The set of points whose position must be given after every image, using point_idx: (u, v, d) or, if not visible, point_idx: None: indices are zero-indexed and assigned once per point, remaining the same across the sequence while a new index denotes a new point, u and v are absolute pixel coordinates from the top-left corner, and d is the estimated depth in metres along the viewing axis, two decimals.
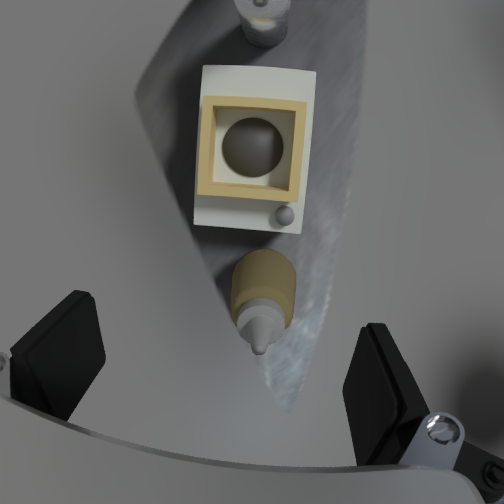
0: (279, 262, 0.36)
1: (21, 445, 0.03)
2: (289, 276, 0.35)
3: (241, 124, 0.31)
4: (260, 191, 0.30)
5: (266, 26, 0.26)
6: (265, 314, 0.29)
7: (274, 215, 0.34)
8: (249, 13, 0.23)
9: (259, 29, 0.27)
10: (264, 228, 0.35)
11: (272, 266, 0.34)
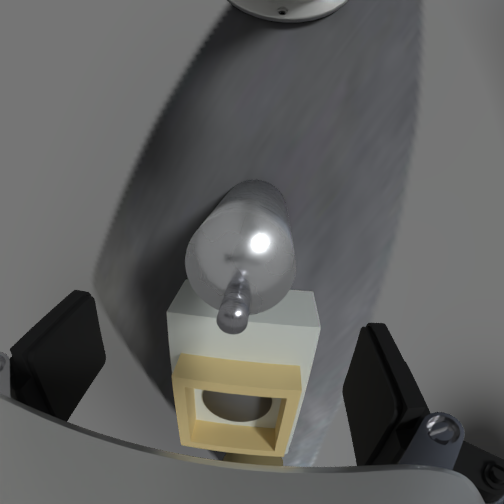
0: None
1: (21, 445, 0.03)
2: None
3: None
4: (245, 450, 0.25)
5: None
6: None
7: None
8: None
9: None
10: None
11: None
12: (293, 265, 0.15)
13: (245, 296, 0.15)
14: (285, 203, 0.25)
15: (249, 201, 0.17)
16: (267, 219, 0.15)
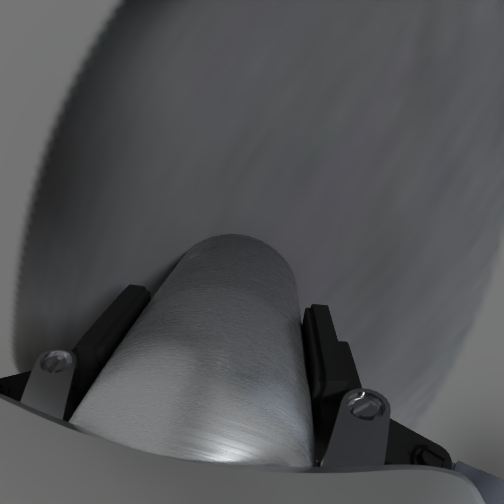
0: None
1: (21, 445, 0.03)
2: None
3: None
4: None
5: None
6: None
7: None
8: None
9: None
10: None
11: None
12: None
13: None
14: (295, 288, 0.12)
15: (175, 416, 0.04)
16: None
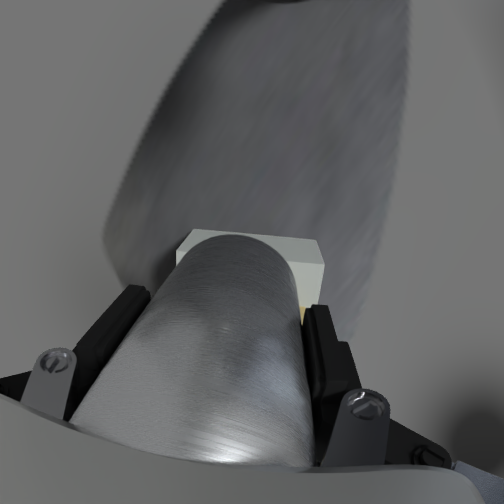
0: None
1: (21, 445, 0.03)
2: None
3: None
4: None
5: None
6: None
7: None
8: None
9: None
10: None
11: None
12: None
13: None
14: (295, 288, 0.12)
15: (175, 416, 0.04)
16: None
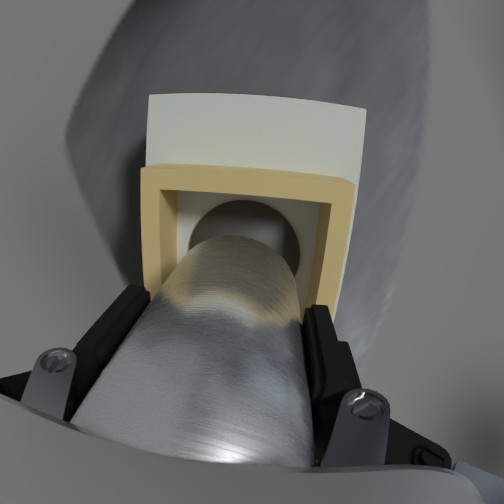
0: None
1: (21, 445, 0.03)
2: None
3: (222, 212, 0.17)
4: None
5: None
6: None
7: None
8: None
9: None
10: None
11: None
12: None
13: None
14: (295, 290, 0.12)
15: (174, 420, 0.04)
16: None
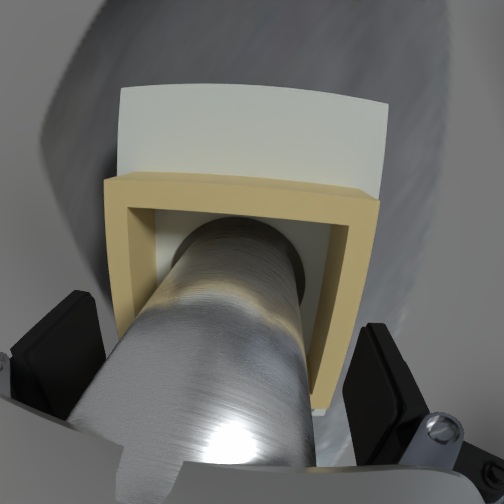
0: None
1: (21, 445, 0.03)
2: None
3: None
4: None
5: None
6: None
7: None
8: None
9: None
10: None
11: None
12: None
13: None
14: (293, 276, 0.13)
15: (188, 369, 0.05)
16: None
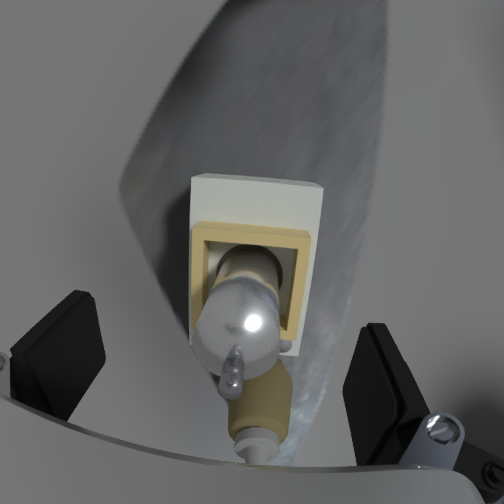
0: (275, 379, 0.34)
1: (21, 445, 0.03)
2: (285, 393, 0.33)
3: None
4: None
5: None
6: (261, 443, 0.27)
7: None
8: None
9: None
10: None
11: (268, 387, 0.33)
12: (278, 346, 0.19)
13: (240, 370, 0.18)
14: (276, 271, 0.29)
15: (243, 289, 0.21)
16: (256, 312, 0.18)
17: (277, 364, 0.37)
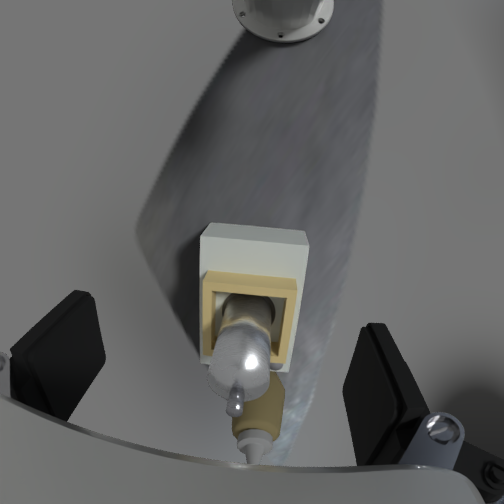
0: (270, 389, 0.41)
1: (21, 445, 0.03)
2: (278, 401, 0.40)
3: (238, 293, 0.37)
4: None
5: None
6: (258, 442, 0.34)
7: None
8: None
9: None
10: None
11: (264, 396, 0.40)
12: (268, 380, 0.26)
13: (241, 396, 0.25)
14: (269, 311, 0.35)
15: (243, 339, 0.27)
16: (253, 359, 0.25)
17: (272, 376, 0.44)
